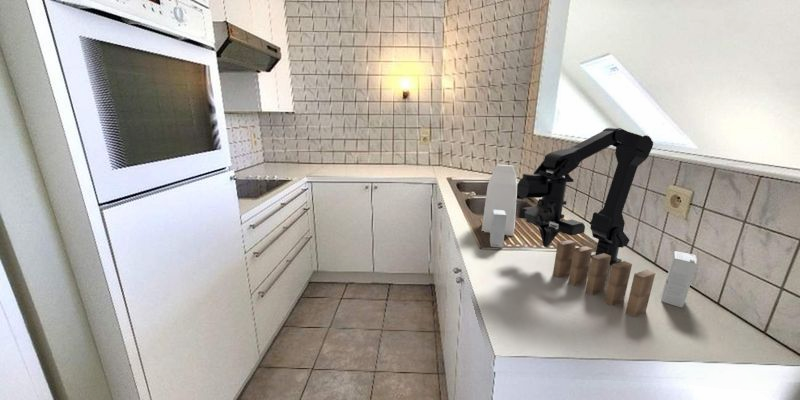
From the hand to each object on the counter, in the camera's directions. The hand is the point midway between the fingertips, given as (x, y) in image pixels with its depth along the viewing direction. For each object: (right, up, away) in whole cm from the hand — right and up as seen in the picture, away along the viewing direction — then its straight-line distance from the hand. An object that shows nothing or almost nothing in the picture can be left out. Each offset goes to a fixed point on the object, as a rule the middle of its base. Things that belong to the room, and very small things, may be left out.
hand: (545, 246), depth 96 cm
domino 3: (+7, -10, -13) cm, 18 cm away
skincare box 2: (+24, -11, -16) cm, 31 cm away
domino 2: (+5, -9, -8) cm, 13 cm away
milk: (-4, +2, +32) cm, 33 cm away
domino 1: (+3, -7, -4) cm, 9 cm away
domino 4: (+9, -11, -17) cm, 22 cm away
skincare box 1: (-10, -2, +17) cm, 20 cm away
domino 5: (+11, -12, -21) cm, 27 cm away
